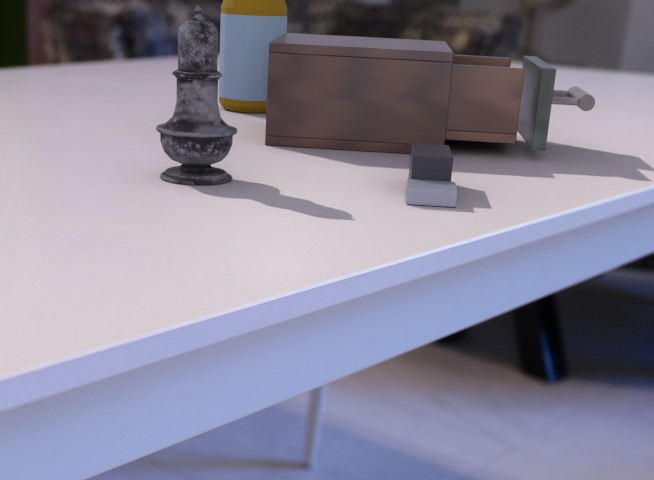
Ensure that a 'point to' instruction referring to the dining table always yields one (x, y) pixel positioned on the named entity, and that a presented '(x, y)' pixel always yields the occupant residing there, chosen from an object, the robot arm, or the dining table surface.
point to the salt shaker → (196, 110)
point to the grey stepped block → (431, 176)
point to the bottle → (248, 51)
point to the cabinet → (357, 92)
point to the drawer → (505, 100)
